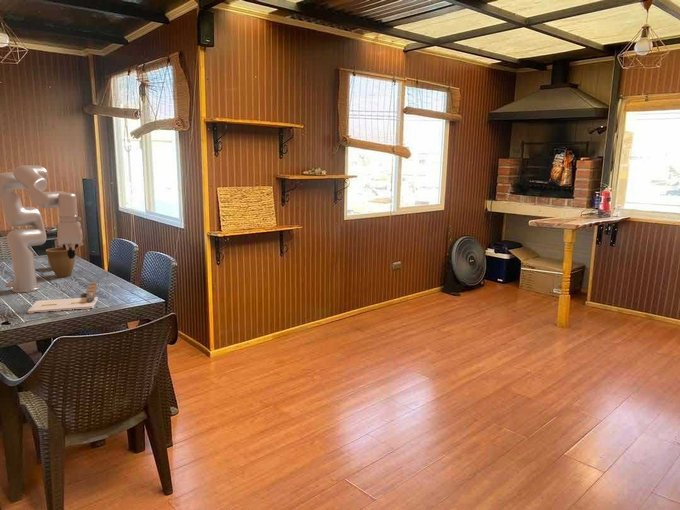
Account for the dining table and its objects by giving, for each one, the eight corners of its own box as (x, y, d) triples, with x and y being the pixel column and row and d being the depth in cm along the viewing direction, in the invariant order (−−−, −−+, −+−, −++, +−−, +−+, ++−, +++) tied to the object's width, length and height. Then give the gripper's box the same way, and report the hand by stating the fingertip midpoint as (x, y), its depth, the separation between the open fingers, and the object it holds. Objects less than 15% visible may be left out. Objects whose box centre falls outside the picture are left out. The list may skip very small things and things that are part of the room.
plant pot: (83, 273, 290) (81, 246, 287) (67, 279, 276) (64, 251, 272) (59, 272, 292) (57, 246, 288) (42, 278, 277) (39, 250, 274)
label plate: (27, 313, 217) (27, 310, 217) (37, 303, 232) (36, 300, 232) (92, 308, 225) (92, 305, 225) (97, 299, 240) (97, 296, 240)
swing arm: (93, 300, 231) (93, 293, 231) (86, 301, 230) (85, 294, 229) (96, 288, 253) (96, 281, 252) (90, 288, 252) (89, 282, 251)
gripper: (88, 218, 235) (90, 255, 239) (52, 218, 230) (55, 256, 234) (85, 220, 228) (87, 259, 232) (48, 221, 223) (52, 260, 227)
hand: (71, 258), depth 233 cm, fingers closed
